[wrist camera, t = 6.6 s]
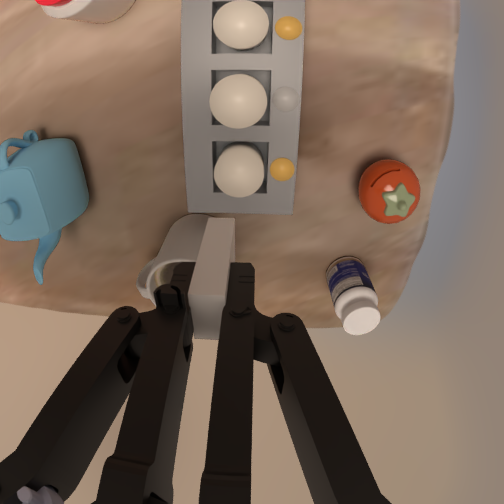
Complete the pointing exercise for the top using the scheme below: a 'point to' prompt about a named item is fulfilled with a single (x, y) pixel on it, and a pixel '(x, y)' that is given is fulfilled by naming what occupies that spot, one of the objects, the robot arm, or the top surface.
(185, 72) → the console
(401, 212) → the tomato
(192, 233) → the mug
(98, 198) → the top surface
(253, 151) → the button
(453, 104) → the top surface
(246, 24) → the button
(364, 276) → the pill bottle
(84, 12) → the pill bottle
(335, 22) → the top surface
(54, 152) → the teapot
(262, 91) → the button middle
